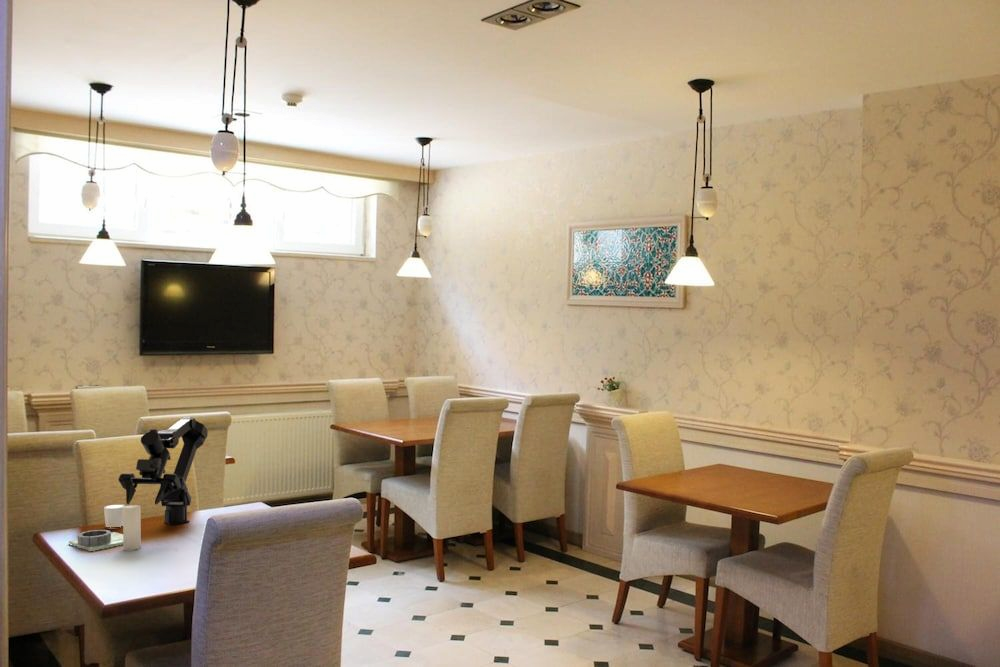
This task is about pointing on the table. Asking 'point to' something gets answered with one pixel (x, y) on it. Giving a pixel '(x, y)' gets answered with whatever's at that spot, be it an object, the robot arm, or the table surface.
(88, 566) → the table surface
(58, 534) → the table surface
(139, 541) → the post
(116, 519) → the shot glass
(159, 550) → the table surface
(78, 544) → the grey ring base plate
